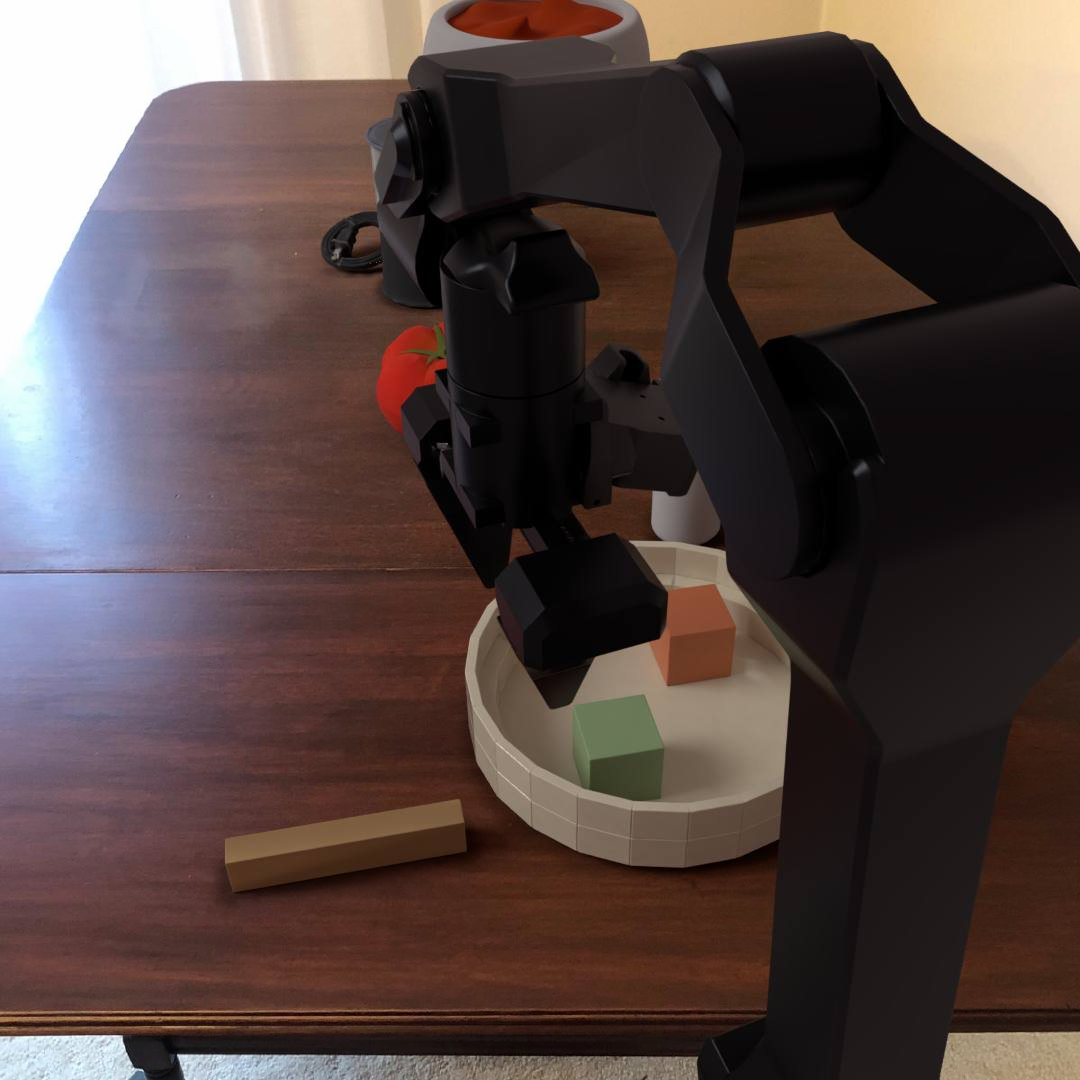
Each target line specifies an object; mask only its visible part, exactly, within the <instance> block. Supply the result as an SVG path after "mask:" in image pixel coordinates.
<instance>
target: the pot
mask: <svg viewBox="0 0 1080 1080" xmlns="http://www.w3.org/2000/svg"><path fill="white" fill-rule="evenodd" d="M565 36H579V37H582V38H585V39H588V40H592V41H595V42H598V43H601V44H604V45H607V46H609V47H610V48H611V49H612V50H614V51H615V54H616V64H619V65H620V64H629V63H639V62H649V61H651V52H650V46H649V39H648V35H647V30H646V27H645V24H644V22H643V18H642V16H641V14H640V12H639V10H638V8H636V7H635V5H633V4H632V3H630V2H628V1H626V0H452V1H449V2H447V3H445V4H442V6H440V7H439V8H437V9H436V10H435V11H434V13H433V14H432V15H431V17H430V20H429V23H428V25H427V29H426V32H425V37H424V41H423V42H424V43H423V49H422V55H429V54H436V53H444V52H452V51H459V50H467V49H474V48H482V47H489V46H497V45H505V44H512V43H520V42H527V41H535V40H543V39H550V38H558V37H565Z"/></svg>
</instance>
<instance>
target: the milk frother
mask: <svg viewBox="0 0 1080 1080" xmlns="http://www.w3.org/2000/svg"><path fill="white" fill-rule="evenodd" d="M392 119H393V116H391V117H386V118H384V119H382V120H379V121H377V122H375V123H374V124H372V125H371V126H370V127H369V128H368V129H367V130H366V132H365V134H364V135H365V140H366V142H367V143H368V144H369V146H370V155H371V166H372V177H373V185H374V195H375V203H376V205H377V203H378V202H379V199H380V198H379V195H378V191H377V187H376V183H375V179H374V173H375V170H376V166H377V163H378V160H379V157H380V154H381V151H382V148H383V145H384V141H385V138H386V135H387V132H388V130H389V128H390V127H391V125H392ZM368 227H373V228H374V227H375V228H378V230H379V238H380V248H379V249H378V250H376V251H374V252H372V253H370V254H368V255H364V256H361V257H353V250H354V245H355V244H356V243H357V235H358V234H359V232H360V229H363V228H368ZM320 253H321V257H322V258H323V260H324V261H325V262H326V263H327V264H328V265H329V266H331V267H333V268H336V269H340V270H344V271H351V272H357V271H358V272H359V271H366V270H370V269H372V268H375V267H378V266H379V265H382V266H381V267H382V280H381V283H380V288H381V290H382V293H383V295H385V297H387V299H389V300H390V301H392V302H394V303H397V304H400V305H404V306H406V307H414V308H433V307H434V308H439V307H438V306H434V305H432V304H431V303H430V302H429V301H428V300H427V299H426V298H425V296H424V295H423V293H422V292H421V290H420V289H419V287H418V286H417V284H416V283H415V282H414V280H413V279H412V277H411V276H410V274H409V273H408V271H407V270H406V268H405V267H404V266H403V264H402V263H401V261H400V260H399V258H398V257H397V255H396V254H395V253H394V251H393V250H392V248H391V247H390V245H389V244H388V242H387V241H386V239H385V237H384V235H383V233H382V232H381V229H380V225H379V222H378V218H377V210H376V211H375V210H374V211H373V210H367V211H361V212H356V213H354V214H351V215H349V216H348V217H345V218H343V219H341V220H339V221H338V222H336V224H334V225H332V226H331V227H330V228H329V229H328V230H327V231H326V232H325V234H324V235H323V237H322V239H321V242H320ZM379 261H380V262H379ZM376 262H377V263H376ZM370 263H371V264H370Z"/></svg>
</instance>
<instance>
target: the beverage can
mask: <svg viewBox="0 0 1080 1080" xmlns="http://www.w3.org/2000/svg"><path fill="white" fill-rule="evenodd" d="M651 499H652V502H651V521H650V523H651V528H652V531H653V532H654V534H655V535H656V536H657V537H658V538H659V539H660V540H661V541H669V542H677V543H678V542H682V543H687V544H692V545H698V546H702V545H703V544H706V543H708V542H709V541H710V540H712V539H713V538H714V537H715V536H717V534H718V533H719V531H720V529H721V522H720V520H719V518H718V515H717V513H716V511H715V509H714V506H713V504H712V502H711V500H710V497H709V495H708V493H707V491H706V488H705V486H704V484H703V482H702V479H701V477H700V475H699V473H698V470H697V473H696V475H695V477H694V480H693V482H692V484H691V487H690V489H689V491H688V493H687V495H685V496H682V497H672V496H668V494H667V493H666V492H659V491H652V498H651Z"/></svg>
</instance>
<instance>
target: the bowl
mask: <svg viewBox="0 0 1080 1080" xmlns="http://www.w3.org/2000/svg"><path fill="white" fill-rule="evenodd" d="M628 541H629V542H631V543H632V544H634V545H635V547H636V548H637V549H638V551H639V552H640V554H641V555H642V556H643V558H644V559H645V561H646V562H647V563H648V565H649V566H650V568H651V569H652V570H653V572H654V573H655V575H656V576H657V577H658V579H659V580H660V582H661V583H662V584H663V586H664V587H665V589H666V590H667V591H668V590H674V589H681V588H688V587H695V586H701V585H708V584H715V585H716V587H717V589H718V591H719V593H720V595H721V597H722V599H723V601H724V603H725V605H726V607H727V609H728V611H729V613H730V615H731V617H732V619H733V621H734V623H735V625H736V634H735V643H734V652H733V660H732V669H731V676H728V677H722V678H715V679H709V680H703V681H696V682H690V683H684V684H678V685H671V686H666V683H665V681H664V678H663V676H662V673H661V671H660V668H659V666H658V663H657V661H656V658H655V656H654V653H653V651H652V649H651V646H650V644H649V642H648V643H644V644H640V645H637V646H633V647H630V648H626V649H622V650H619V651H615V652H611V653H608V654H604V655H601V656H597V657H595V659H594V661H593V663H592V664H591V666H590V668H589V670H588V672H587V674H586V676H585V678H584V680H583V682H582V684H581V686H580V688H579V690H578V692H577V694H576V696H575V698H574V700H573V702H572V703H571V704H570V705H568V706H564V707H561V708H557V709H554V710H551V709H549V707H548V706H547V704H546V702H545V701H544V699H543V698H542V696H541V694H540V693H539V691H538V689H537V688H536V686H535V684H534V683H533V681H532V680H531V678H530V676H529V675H528V673H527V672H526V670H525V668H524V667H523V665H522V664H521V662H520V661H519V660H518V658H517V657H516V655H515V653H514V651H513V649H512V647H511V645H510V643H509V641H508V640H507V638H506V636H505V634H504V632H503V630H502V628H501V626H500V624H499V623H498V621H497V616H499V615H500V614H499V610H498V606H497V602H496V597H494V599H493V600H492V601H491V602H490V603H488V605H487V606H486V607H485V609H484V611H483V613H482V615H481V617H480V619H479V620H478V622H477V624H476V625H475V627H474V629H473V631H472V633H471V634H470V636H469V642H468V648H467V655H466V660H465V666H464V681H465V693H466V706H467V719H468V728H469V733H470V738H471V743H472V748H473V753H474V756H475V761H476V764H477V765H478V767H479V768H480V770H481V772H482V773H483V775H484V777H485V778H486V780H487V782H488V783H489V785H490V787H491V788H492V790H493V791H494V793H495V795H496V797H497V798H498V799H500V801H502V802H503V803H504V804H505V805H506V806H507V807H508V808H509V809H510V810H511V811H513V812H514V813H515V814H516V815H517V816H518V817H519V818H520V819H521V820H522V821H524V822H525V823H526V824H527V825H528V826H529V827H530V828H532V829H533V830H535V831H537V832H539V833H541V834H543V835H545V836H547V837H548V838H550V839H553V840H554V841H556V842H557V843H560V844H562V845H564V846H566V847H568V848H570V849H571V850H574V851H575V852H578V853H581V854H584V855H587V856H592V857H596V858H600V859H604V860H607V861H611V862H615V863H618V864H619V863H620V864H622V865H626V866H631V867H655V868H681V869H682V868H683V869H684V868H690V867H697V866H701V865H707V864H712V863H718V862H723V861H729V860H734V859H737V858H740V857H743V856H744V855H747V854H750V853H752V852H754V851H756V850H759V849H760V848H762V847H765V846H767V845H769V844H772V843H774V842H776V841H779V834H780V821H781V807H782V793H783V779H784V766H785V752H786V738H787V725H788V711H789V697H790V683H791V671H790V659H789V656H788V655H787V653H786V652H785V650H784V649H783V648H782V646H781V645H780V644H779V642H778V641H777V640H776V638H775V637H774V635H773V634H772V633H771V631H770V630H769V629H768V627H767V626H766V625H765V623H764V622H763V620H762V619H761V618H760V616H759V615H758V614H757V612H756V611H755V610H754V608H753V607H752V605H751V604H750V603H749V601H748V600H747V599H746V597H745V596H744V595H743V593H742V592H741V591H740V589H739V588H738V586H737V585H736V584H735V582H734V581H733V580H732V578H731V577H730V575H729V573H728V570H727V565H726V551H725V550H722V549H719V548H713V547H708V546H703V545H692V544H687V543H682V542H678V543H677V542H669V541H663V540H628ZM641 694H644V695H645V697H646V700H647V703H648V705H649V708H650V711H651V713H652V716H653V719H654V721H655V724H656V726H657V729H658V732H659V734H660V737H661V740H662V742H663V745H664V762H663V776H662V791H661V798H657V799H651V800H646V801H632V800H628V799H624V798H620V797H616V796H611V795H607V794H603V793H599V792H595V791H591V790H587V789H583V788H582V785H581V782H580V779H579V775H578V772H577V769H576V765H575V762H574V759H573V705H578V704H585V703H591V702H597V701H603V700H610V699H616V698H622V697H628V696H635V695H641Z"/></svg>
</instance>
